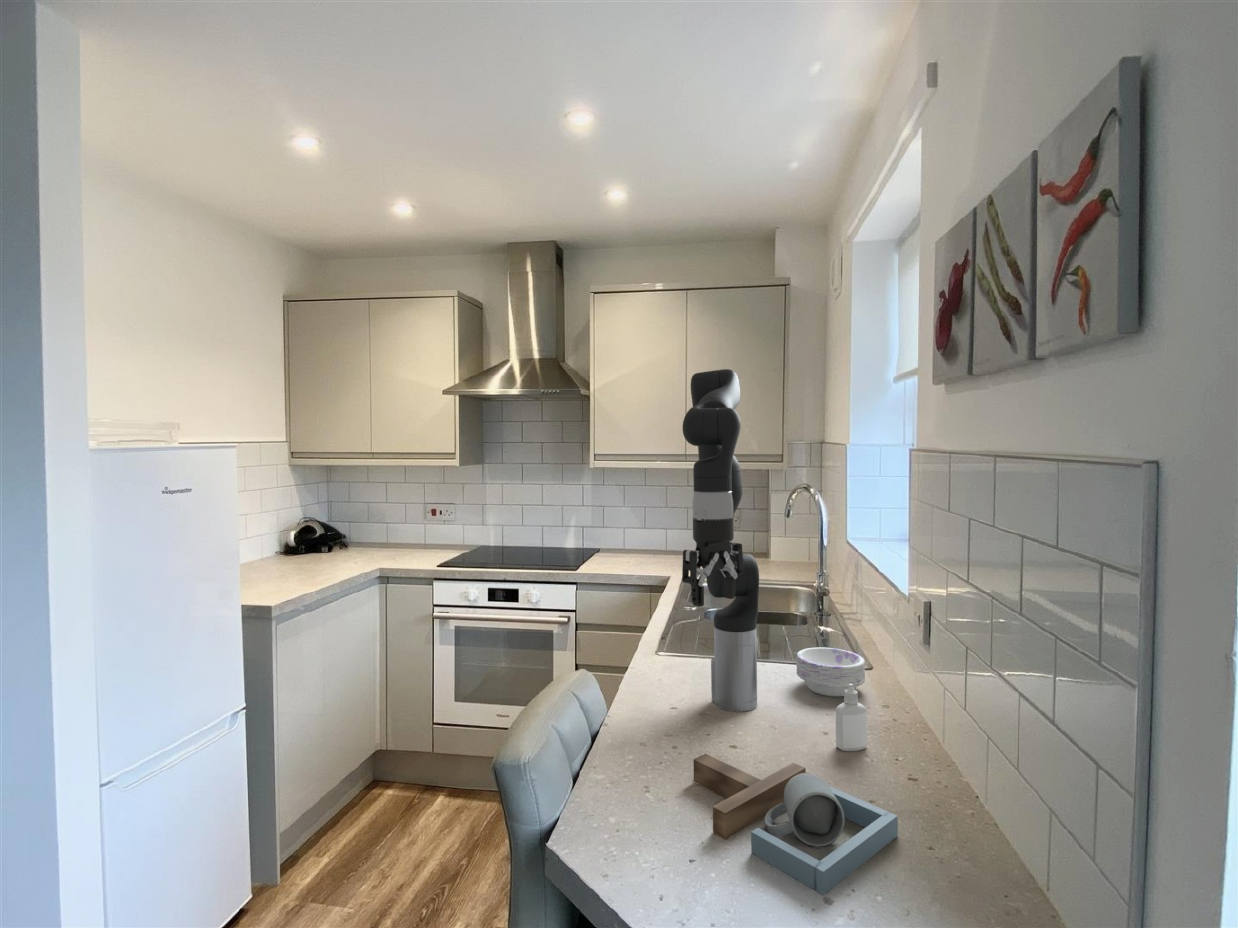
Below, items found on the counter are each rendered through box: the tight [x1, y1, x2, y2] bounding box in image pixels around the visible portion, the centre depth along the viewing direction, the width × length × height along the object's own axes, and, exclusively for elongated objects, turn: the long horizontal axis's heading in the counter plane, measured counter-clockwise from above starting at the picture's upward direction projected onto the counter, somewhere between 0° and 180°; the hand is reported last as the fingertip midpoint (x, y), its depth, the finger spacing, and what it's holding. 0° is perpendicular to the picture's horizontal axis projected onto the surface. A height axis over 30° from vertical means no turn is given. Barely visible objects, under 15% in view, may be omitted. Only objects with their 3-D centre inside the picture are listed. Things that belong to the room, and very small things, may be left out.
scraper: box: [692, 753, 807, 841], centre depth 107 cm, size 14×20×4 cm
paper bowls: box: [795, 646, 866, 697], centre depth 152 cm, size 15×15×8 cm
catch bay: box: [750, 785, 899, 896], centre depth 93 cm, size 12×19×3 cm, turn 130°
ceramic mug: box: [764, 772, 846, 848], centre depth 97 cm, size 11×8×8 cm
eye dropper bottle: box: [835, 684, 868, 752], centre depth 123 cm, size 4×6×12 cm
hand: (714, 601), depth 122 cm, fingers open, 8 cm apart
